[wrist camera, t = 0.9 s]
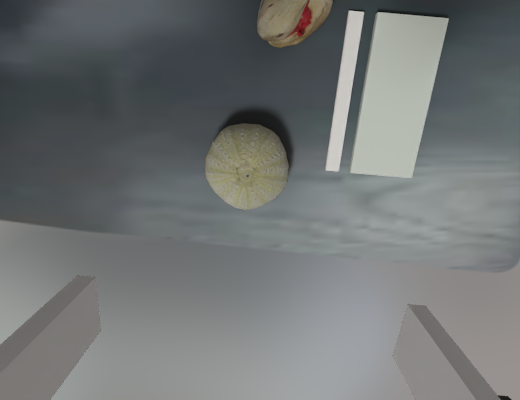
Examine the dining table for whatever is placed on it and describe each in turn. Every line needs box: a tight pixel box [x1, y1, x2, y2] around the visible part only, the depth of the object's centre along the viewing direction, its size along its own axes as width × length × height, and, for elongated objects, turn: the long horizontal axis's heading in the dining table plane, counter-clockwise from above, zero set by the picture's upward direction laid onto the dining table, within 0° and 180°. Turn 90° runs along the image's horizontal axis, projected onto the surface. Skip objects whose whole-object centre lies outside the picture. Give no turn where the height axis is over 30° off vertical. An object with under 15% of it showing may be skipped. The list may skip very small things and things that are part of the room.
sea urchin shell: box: [205, 123, 289, 210], centre depth 32 cm, size 9×8×8 cm
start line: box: [325, 11, 364, 171], centre depth 31 cm, size 16×2×1 cm, turn 175°
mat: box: [349, 12, 449, 178], centre depth 31 cm, size 16×7×1 cm, turn 175°
